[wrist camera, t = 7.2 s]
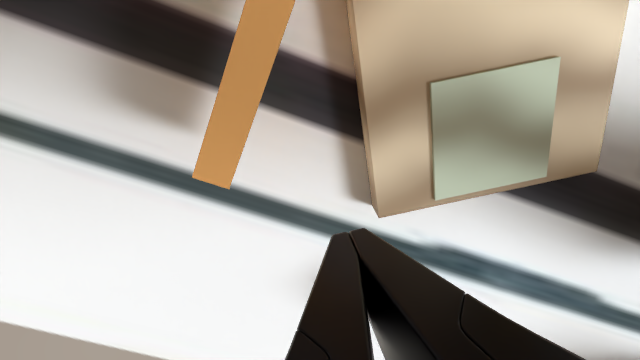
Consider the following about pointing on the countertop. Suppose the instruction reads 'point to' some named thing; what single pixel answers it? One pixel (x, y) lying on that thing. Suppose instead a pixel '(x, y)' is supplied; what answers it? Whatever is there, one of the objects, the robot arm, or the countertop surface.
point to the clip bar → (241, 88)
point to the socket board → (480, 94)
